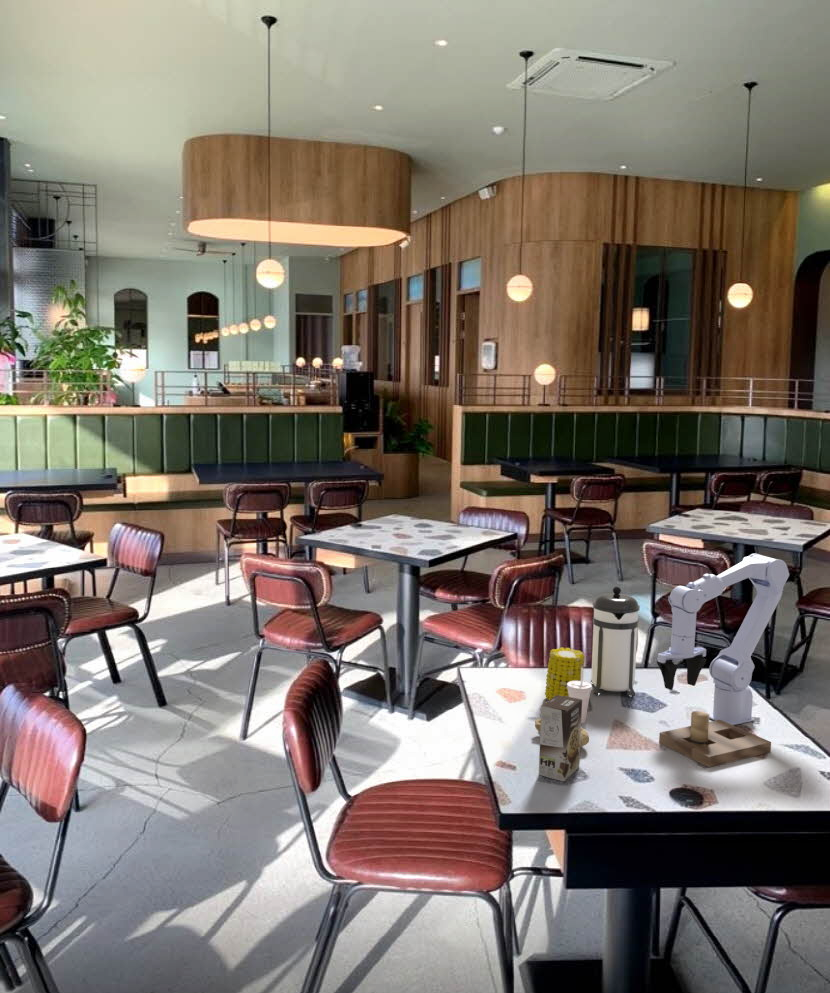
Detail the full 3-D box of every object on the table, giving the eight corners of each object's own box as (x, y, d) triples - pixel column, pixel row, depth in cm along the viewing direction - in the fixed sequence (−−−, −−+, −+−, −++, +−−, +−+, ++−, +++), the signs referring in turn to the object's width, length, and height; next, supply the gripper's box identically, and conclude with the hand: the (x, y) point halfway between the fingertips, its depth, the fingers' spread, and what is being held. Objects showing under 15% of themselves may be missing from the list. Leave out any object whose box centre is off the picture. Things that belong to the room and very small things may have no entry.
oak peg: (698, 746, 219) (700, 710, 218) (710, 752, 215) (712, 715, 214) (685, 749, 217) (687, 712, 216) (697, 755, 214) (700, 718, 212)
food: (561, 697, 256) (585, 710, 248) (530, 695, 250) (554, 708, 241) (574, 645, 255) (599, 656, 247) (543, 641, 249) (568, 652, 241)
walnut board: (719, 729, 230) (719, 719, 230) (770, 752, 216) (771, 742, 216) (659, 742, 221) (659, 732, 220) (708, 767, 207) (709, 756, 206)
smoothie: (590, 726, 230) (592, 672, 229) (564, 724, 232) (566, 670, 230) (590, 717, 237) (592, 665, 235) (565, 715, 238) (567, 663, 236)
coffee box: (564, 782, 198) (567, 710, 196) (537, 775, 201) (539, 704, 199) (580, 767, 205) (583, 698, 203) (554, 761, 209) (556, 693, 207)
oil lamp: (536, 731, 227) (537, 712, 226) (594, 740, 222) (595, 720, 221) (525, 747, 217) (526, 726, 216) (586, 756, 212) (586, 736, 211)
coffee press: (653, 692, 257) (658, 588, 253) (613, 703, 248) (618, 595, 244) (608, 675, 271) (612, 576, 267) (568, 685, 262) (572, 582, 258)
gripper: (693, 627, 235) (689, 678, 237) (650, 633, 229) (647, 685, 230) (713, 634, 229) (710, 686, 231) (670, 640, 223) (666, 694, 224)
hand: (680, 686), depth 230 cm, fingers open, 7 cm apart
